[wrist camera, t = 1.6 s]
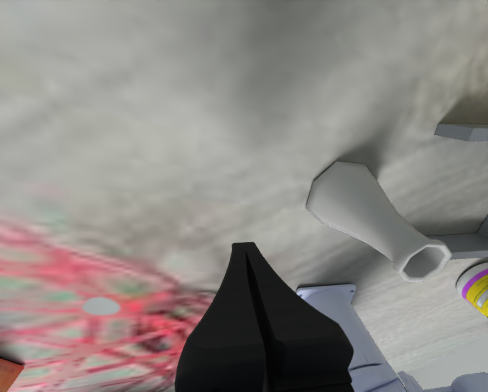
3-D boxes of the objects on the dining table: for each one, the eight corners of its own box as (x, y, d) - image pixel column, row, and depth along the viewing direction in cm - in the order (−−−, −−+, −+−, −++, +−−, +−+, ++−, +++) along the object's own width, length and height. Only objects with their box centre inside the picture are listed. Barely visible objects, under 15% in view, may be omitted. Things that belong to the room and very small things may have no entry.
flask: (388, 177, 21) (510, 236, 12) (345, 231, 24) (421, 313, 15) (333, 147, 19) (431, 193, 10) (293, 210, 22) (344, 290, 13)
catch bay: (479, 239, 27) (509, 255, 24) (390, 244, 25) (410, 262, 23) (551, 124, 21) (601, 129, 18) (438, 123, 19) (473, 128, 17)
